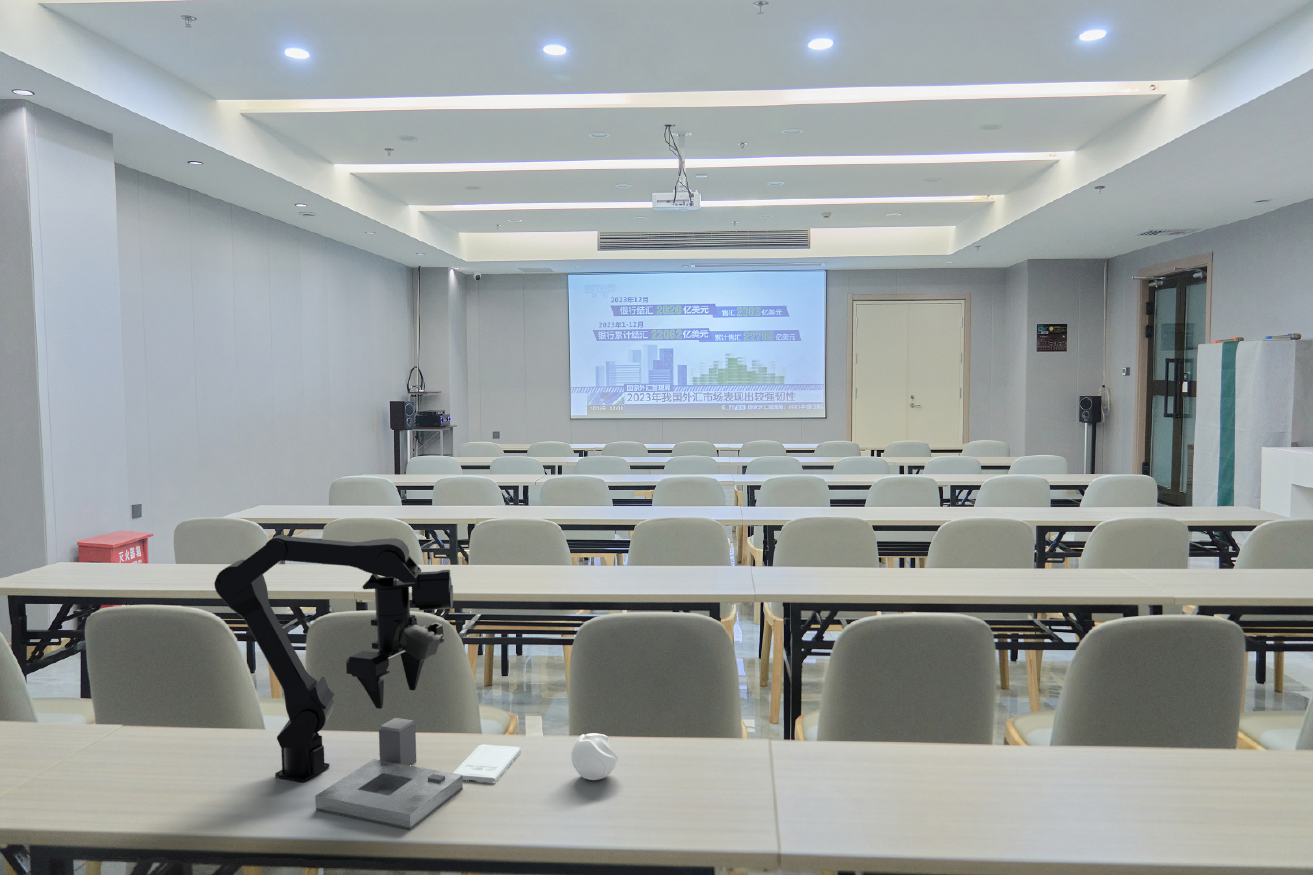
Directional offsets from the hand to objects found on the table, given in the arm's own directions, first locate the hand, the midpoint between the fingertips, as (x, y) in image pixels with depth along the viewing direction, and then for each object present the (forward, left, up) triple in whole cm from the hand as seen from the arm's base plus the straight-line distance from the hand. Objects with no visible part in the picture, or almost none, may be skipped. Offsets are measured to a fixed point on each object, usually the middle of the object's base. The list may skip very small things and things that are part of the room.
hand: (396, 698), depth 151 cm
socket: (+7, -11, -12) cm, 18 cm away
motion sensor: (+35, +7, -12) cm, 38 cm away
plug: (0, 0, -12) cm, 12 cm away
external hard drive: (+15, +5, -13) cm, 20 cm away
